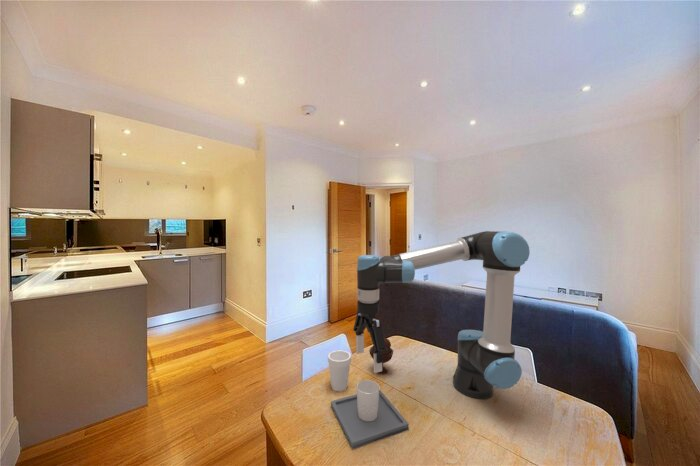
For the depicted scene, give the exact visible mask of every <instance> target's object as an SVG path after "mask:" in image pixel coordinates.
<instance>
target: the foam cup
mask: <svg viewBox="0 0 700 466" xmlns="http://www.w3.org/2000/svg"><path fill="white" fill-rule="evenodd" d="M327 355H328V356H327V362H328V367H329V368H328V369H329V374H330V375H329V376H330V386H331V389H332V390H333V391H334V392H344V391H345V390H347V388H348V383H349V376H350V375H349V374H350V369H351V368H350V366H351V362H352V355H351V353H350V352H349V351H346V350H341V349H339V350H333V351H331V352H329V353H328V354H327Z"/></svg>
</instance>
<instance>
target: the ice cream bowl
mask: <svg viewBox="0 0 700 466" xmlns="http://www.w3.org/2000/svg"><path fill="white" fill-rule="evenodd" d="M384 341H385V346H386V351H387V352H386V353H382V371H381V372H377V374H379V375H385V374H387V373H388V369H387V368H386V367H385V366H384V364H385V363H389V362H390V361H391V359H392V357H393V354H394V350H393V349H392V348H391V346H392V344H391V341H390V340H389V339H388V338H386V337H384ZM368 351H369V354H370V355H369V356H370V357H371V358H372V359H373V360H374V353H373V352H374V351H375V349H374V346H373V345H372V346H371V347H370V348H369V350H368Z"/></svg>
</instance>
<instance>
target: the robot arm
mask: <svg viewBox="0 0 700 466" xmlns="http://www.w3.org/2000/svg"><path fill="white" fill-rule="evenodd" d="M529 257H530V247H529V244H528V241H527V240H526V239H525V238H524V237H523V236H522V235H521V234H519V233H516V232H513V231H512V232H511V231H505V230H504V231H501V230H500V231H490V230H489V231H488V230H486V231H480V232H475V233H473V234H469V235H466V236H461V237H458V238H457V239H456V241H451V242H446V243H442V244H437V245H434V246H428V247H424V248H420V249H415V250H411V251H407V252H402V253H398V254H394V255H382V256H381V257H379V256H378V255H376V254H362V255H359V256H358V258H357V267H356V272H357V273H356V274H357V275H356V276H357V277H356V279H357V282H356V283H357V285H356V286H357V291H356V295H357V305H356V306H357V310H356V317H355V321H354V326H353V330H352V331H353V332H355V335H356V337H355V340H356V342H355V344H356V345H355V346H356V354H358V355H359V354H362V353H365V335H364V334H365V330H367V332H368V333H369V335H370V338H371V342H372V346H374V349H375V351H374V352H373V353H374V359H373V373H374V374H376V373H377V372H381V371H382V353H386V352H387V351H386V346H385V341H384V338H385V337H384V332H383V328H382V319H377V314H378V313H379V312H380V301H379V300H380V284H391V283H392V284H393V283H394V284H395V283H396V284H397V283H398V284H399V283H402V284H404V283H412V282H413V281H414V280H415V275H416V270H420V269H425V268H430V267H434V266H439V265H442V264H446V263H447V264H448V263H452V262H455V261H460V260H462V261H464V262H467V261H474V260H478V261H482V268H483V270H484V271H485V272H486V285H485V296H484V297H485V299H484V312H483V313H484V314H483V315H484V317H483V329H482V330H477V329H462V330H460V331H459V332H458V335H457V366H456V368H455V370H454V374H453V376H452V384H453V388H455V389H456V390H457V391H458V392H459V393H461V394H462V395H465V396H467V397H470V398H473V399H478V400H479V399H481V400H482V399H490V398H491V397H492V396H493V395H494V387H495V388H497V389H499V390H507V389H511V388H512V387H514V385H516V384H518V383H519V381H520V379H521V378H522V374H523V373H522V372H523V369H522V367H521V365H520V364H519V362H518V361H517V360H516V359H515V356H516V355H515V353H516V348H515V346H514V345H513V344H512V343H511V336H512V335H511V334H512V319H513V305H514V292H515V291H514V288H515V276H516V275H517V274H519V273H520V272H521V266H523V265H525V263H526V262H527V261H528V260H529ZM377 374H378V373H377Z"/></svg>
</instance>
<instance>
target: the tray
mask: <svg viewBox="0 0 700 466" xmlns="http://www.w3.org/2000/svg"><path fill="white" fill-rule="evenodd" d="M330 408H331V409H332V412H333V413H334V416H335V418H336V419H337V422H338V423H339V426H340V427H341V430H342V432H343V434H344V436H345V438H346V440H347V442H348V444H349V446H350V448H351V450H355V449H358V448H360V447H363V446H367V445H369V444H372V443H375V442H378V441H380V440H383V439H386V438H388V437H392V436H395V435H397V434H401V433H403V432H406V431H409V428H410V426H409V425H410V424H409V422H408V421H407V420H406V418H405V417H404V416H403V415H402V414H401V413H400V412H399V410H397V408H396V407H395V406H394V405H393V404H392V402H391V401H390V399H388V397H387V396H386V395H385V394H384V393H383V391H382V390H381V389H380V388H379V404H378V414H377V418H376V419H375V420H373V421H369V422H368V421H363V420H362V419H360V418H359V416H358V406H357V393H356V394H354V395H350V396H345V397H341V398H338V399H334V400H331V401H330Z"/></svg>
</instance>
